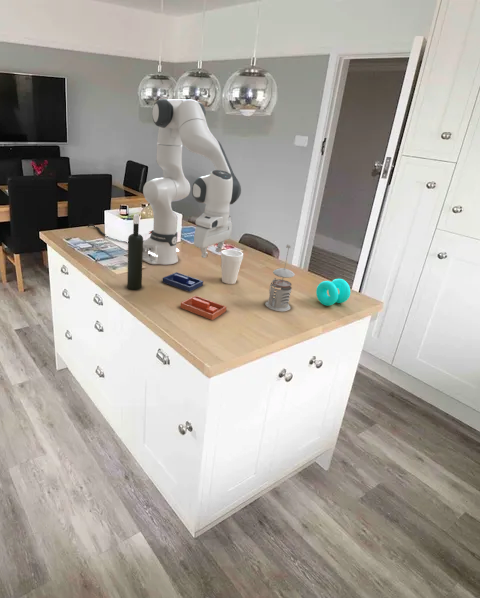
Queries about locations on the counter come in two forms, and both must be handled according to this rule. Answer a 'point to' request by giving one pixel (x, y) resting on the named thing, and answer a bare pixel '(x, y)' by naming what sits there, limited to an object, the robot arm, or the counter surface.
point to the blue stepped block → (183, 280)
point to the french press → (283, 294)
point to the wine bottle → (135, 257)
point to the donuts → (333, 292)
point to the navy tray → (170, 281)
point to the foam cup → (230, 265)
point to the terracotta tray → (188, 306)
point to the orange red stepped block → (203, 305)
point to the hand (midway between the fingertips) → (211, 254)
